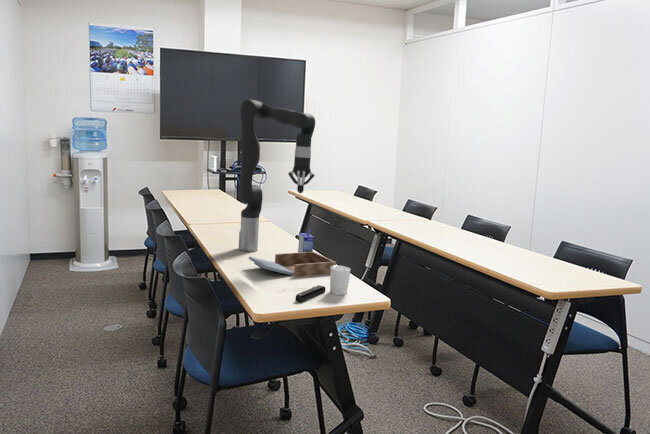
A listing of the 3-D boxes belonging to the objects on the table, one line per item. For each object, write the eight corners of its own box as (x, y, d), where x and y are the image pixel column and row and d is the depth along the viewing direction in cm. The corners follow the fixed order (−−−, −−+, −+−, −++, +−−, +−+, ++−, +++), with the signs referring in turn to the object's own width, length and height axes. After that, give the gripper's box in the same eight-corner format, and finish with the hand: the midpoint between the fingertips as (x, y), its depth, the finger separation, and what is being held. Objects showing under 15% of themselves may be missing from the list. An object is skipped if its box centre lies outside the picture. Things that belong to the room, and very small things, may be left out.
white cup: (347, 290, 211) (349, 266, 210) (349, 296, 204) (351, 271, 202) (328, 289, 211) (330, 265, 210) (328, 295, 203) (330, 270, 202)
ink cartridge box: (312, 261, 254) (314, 232, 251) (301, 261, 252) (303, 232, 250) (307, 256, 263) (309, 228, 261) (297, 256, 261) (299, 228, 259)
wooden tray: (312, 265, 247) (313, 251, 246) (335, 276, 230) (336, 262, 229) (274, 268, 237) (275, 254, 236) (295, 280, 220) (295, 265, 219)
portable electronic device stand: (319, 291, 208) (320, 284, 208) (325, 292, 207) (325, 285, 206) (294, 302, 193) (295, 294, 192) (300, 303, 192) (301, 296, 191)
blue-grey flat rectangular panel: (276, 263, 235) (249, 256, 228) (294, 272, 221) (265, 266, 214) (275, 267, 235) (248, 260, 228) (292, 277, 221) (264, 270, 214)
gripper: (287, 155, 242) (285, 192, 245) (316, 157, 242) (313, 194, 244) (289, 155, 250) (287, 191, 252) (317, 157, 249) (314, 193, 252)
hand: (300, 192), depth 248 cm, fingers closed
